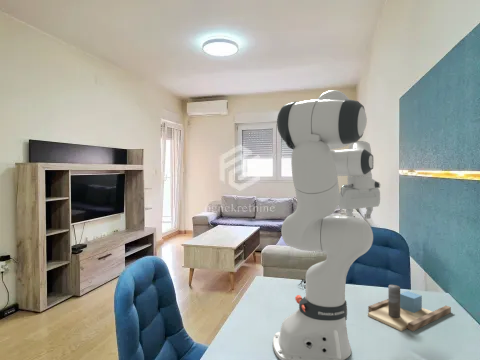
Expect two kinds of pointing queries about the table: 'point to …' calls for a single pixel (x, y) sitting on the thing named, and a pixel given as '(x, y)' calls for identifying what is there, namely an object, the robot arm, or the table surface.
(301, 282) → the creature
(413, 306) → the cube
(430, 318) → the track
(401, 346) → the table surface
